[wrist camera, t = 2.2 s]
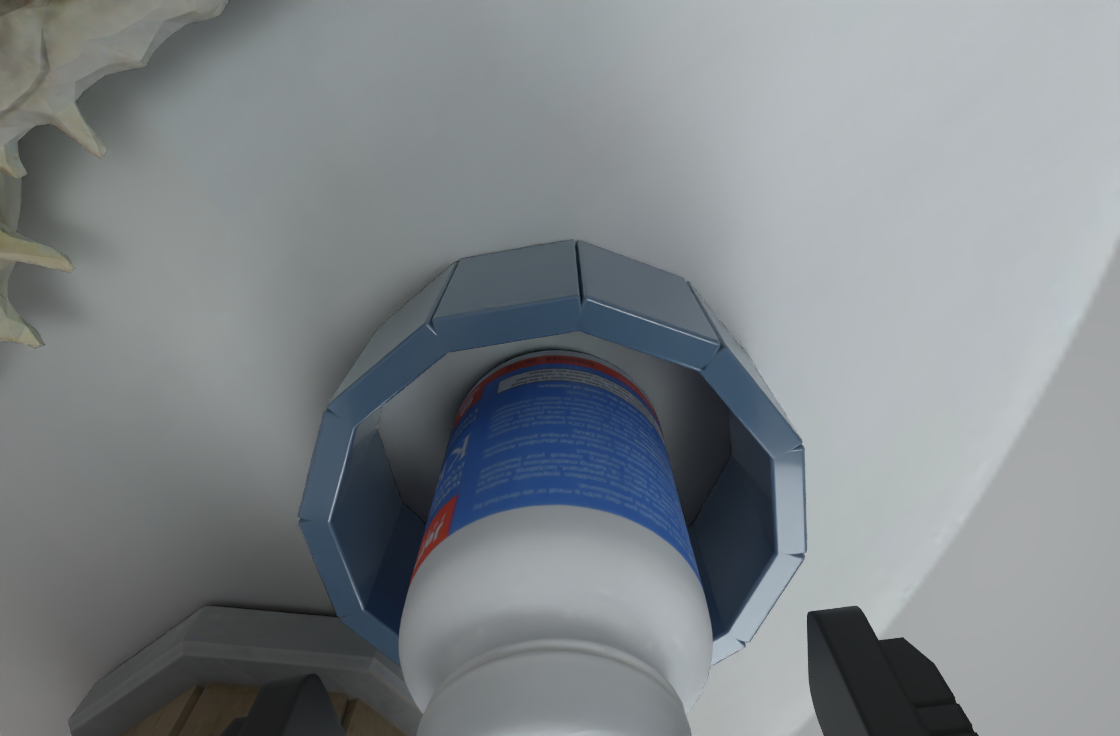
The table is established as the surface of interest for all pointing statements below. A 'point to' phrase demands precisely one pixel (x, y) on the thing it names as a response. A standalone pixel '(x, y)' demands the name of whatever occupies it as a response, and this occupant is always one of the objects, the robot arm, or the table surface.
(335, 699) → the tankard
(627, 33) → the table surface
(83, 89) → the seashell
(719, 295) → the table surface
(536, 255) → the grey hollow ring
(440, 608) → the pill bottle
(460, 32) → the table surface
